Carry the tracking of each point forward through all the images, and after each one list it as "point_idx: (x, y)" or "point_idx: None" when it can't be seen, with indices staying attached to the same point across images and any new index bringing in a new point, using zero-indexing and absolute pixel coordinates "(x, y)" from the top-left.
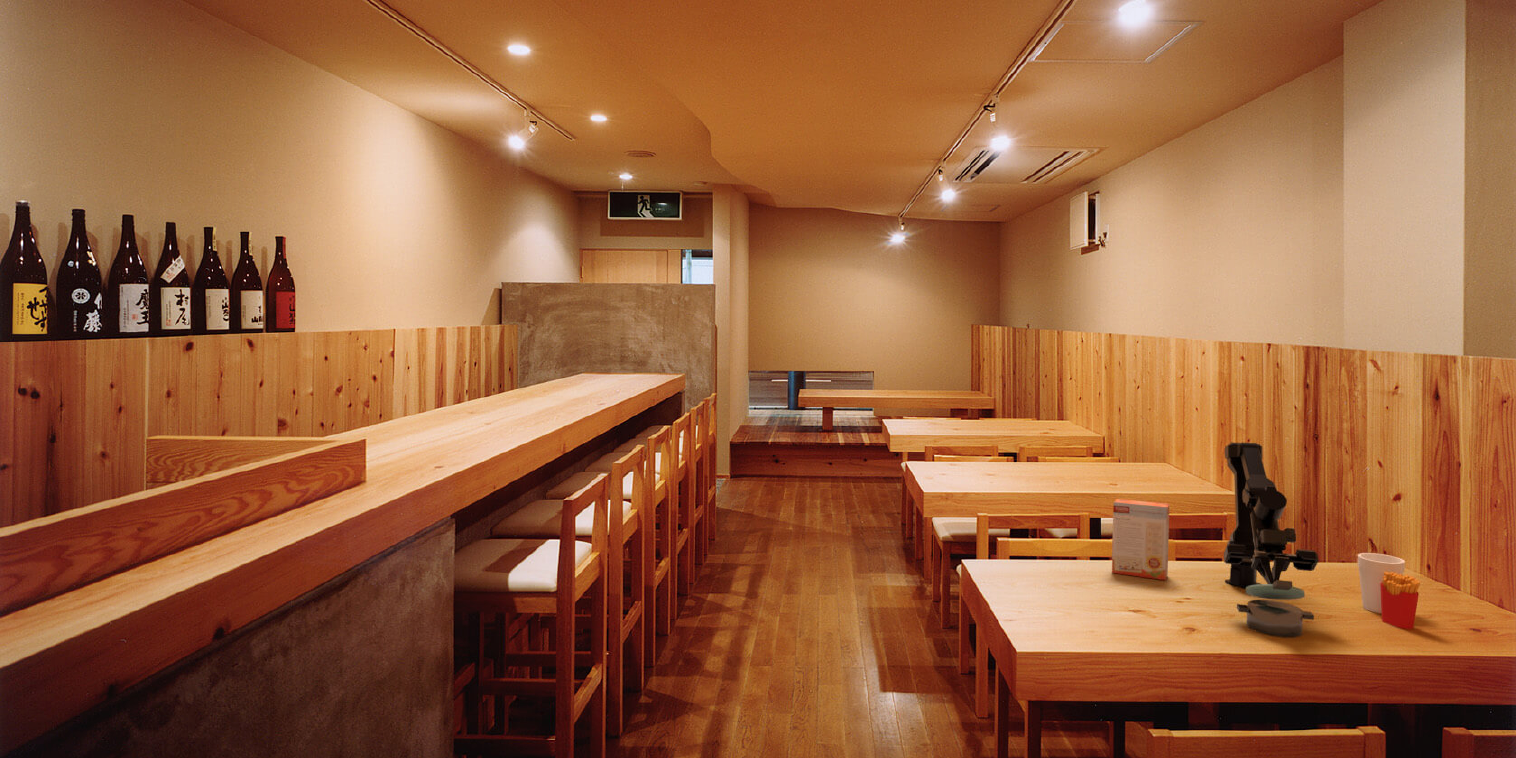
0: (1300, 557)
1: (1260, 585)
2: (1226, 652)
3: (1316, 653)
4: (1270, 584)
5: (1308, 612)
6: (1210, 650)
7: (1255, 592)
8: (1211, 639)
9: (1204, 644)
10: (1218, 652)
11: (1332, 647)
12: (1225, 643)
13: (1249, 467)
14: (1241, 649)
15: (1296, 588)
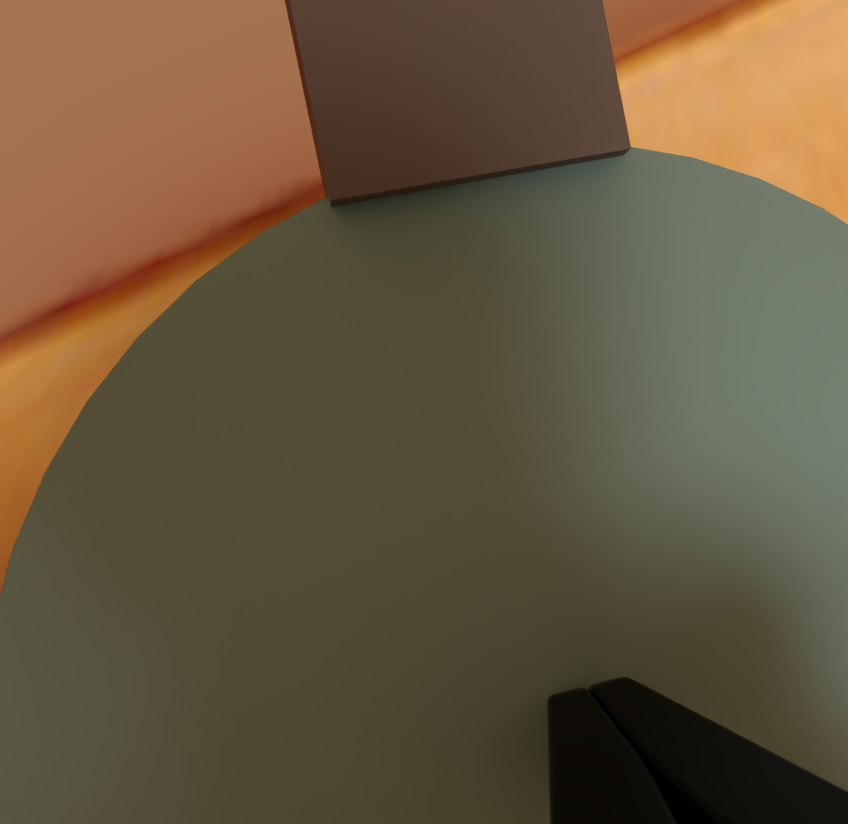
0: None
1: (825, 225)
2: (694, 44)
3: (196, 271)
4: (659, 155)
5: None
6: (774, 31)
7: None
8: (836, 179)
9: (835, 90)
10: (729, 26)
11: (44, 457)
12: (741, 158)
13: None
14: (634, 116)
15: (160, 322)
